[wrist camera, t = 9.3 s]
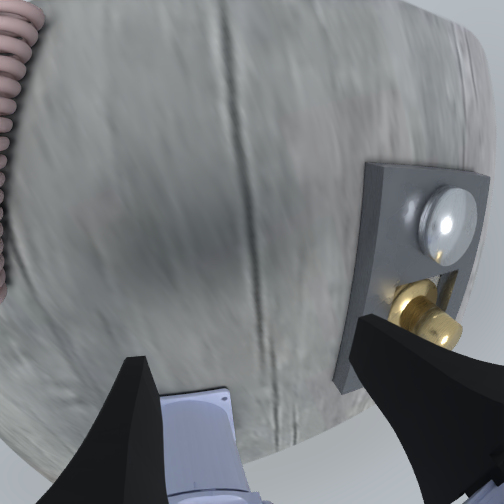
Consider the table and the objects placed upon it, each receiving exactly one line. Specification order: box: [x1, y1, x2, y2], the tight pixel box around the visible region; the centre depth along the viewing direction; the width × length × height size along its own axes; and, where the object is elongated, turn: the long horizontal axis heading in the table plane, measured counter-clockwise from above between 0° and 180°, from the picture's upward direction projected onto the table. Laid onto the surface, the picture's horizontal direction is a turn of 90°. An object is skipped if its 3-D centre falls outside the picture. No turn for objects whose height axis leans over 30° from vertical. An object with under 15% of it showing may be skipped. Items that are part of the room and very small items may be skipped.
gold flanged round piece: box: [388, 279, 462, 351], centre depth 22 cm, size 6×6×6 cm
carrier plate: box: [333, 162, 490, 395], centre depth 22 cm, size 20×14×4 cm
